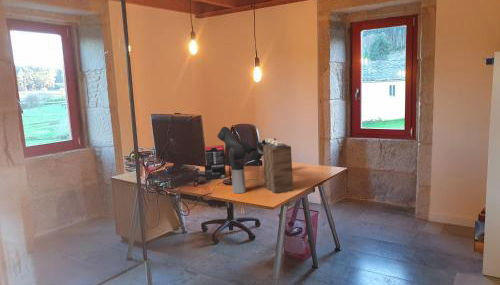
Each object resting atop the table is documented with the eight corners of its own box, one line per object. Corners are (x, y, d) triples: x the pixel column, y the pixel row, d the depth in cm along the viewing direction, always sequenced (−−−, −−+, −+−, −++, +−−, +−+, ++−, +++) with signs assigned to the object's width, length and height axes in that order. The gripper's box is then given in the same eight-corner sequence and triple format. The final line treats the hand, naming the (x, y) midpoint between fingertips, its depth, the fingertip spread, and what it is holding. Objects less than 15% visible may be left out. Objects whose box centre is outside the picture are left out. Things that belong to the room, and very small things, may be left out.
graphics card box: (225, 175, 322) (223, 144, 317) (226, 178, 315) (223, 145, 310) (205, 178, 320) (202, 146, 315) (205, 180, 313) (202, 147, 308)
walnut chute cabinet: (265, 187, 284) (262, 143, 278) (282, 184, 288) (280, 140, 282) (275, 194, 267) (272, 147, 261) (293, 190, 272) (290, 144, 265)
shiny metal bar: (264, 142, 288) (264, 138, 287) (269, 141, 289) (269, 137, 289) (277, 147, 266) (277, 143, 265) (282, 146, 267) (282, 142, 266)
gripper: (253, 144, 295) (259, 136, 281) (270, 142, 300) (277, 134, 286) (256, 153, 293) (262, 146, 279) (273, 151, 298) (280, 143, 283)
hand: (269, 140), depth 282 cm, fingers open, 8 cm apart
